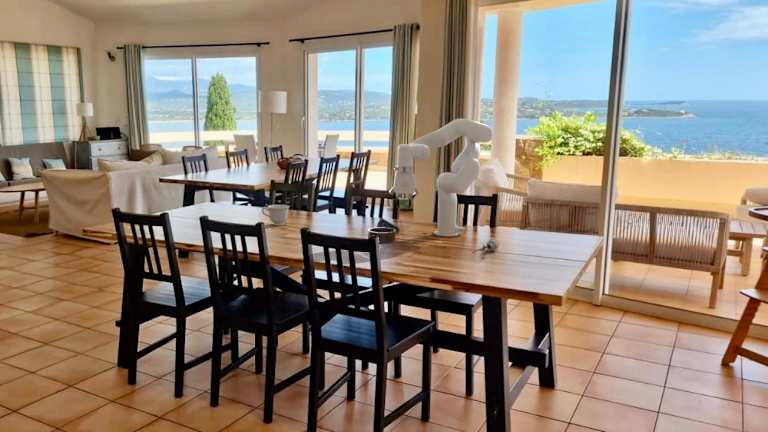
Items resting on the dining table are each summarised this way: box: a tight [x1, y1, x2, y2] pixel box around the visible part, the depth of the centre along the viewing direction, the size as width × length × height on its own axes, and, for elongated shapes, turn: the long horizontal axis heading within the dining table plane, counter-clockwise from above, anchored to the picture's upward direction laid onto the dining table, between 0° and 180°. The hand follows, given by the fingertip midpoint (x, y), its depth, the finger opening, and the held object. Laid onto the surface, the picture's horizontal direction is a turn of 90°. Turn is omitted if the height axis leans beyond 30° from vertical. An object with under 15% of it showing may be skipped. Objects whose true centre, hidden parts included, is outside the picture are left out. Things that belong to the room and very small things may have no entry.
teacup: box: [261, 204, 290, 226], centre depth 314 cm, size 12×15×10 cm
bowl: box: [367, 227, 397, 244], centre depth 279 cm, size 13×13×5 cm
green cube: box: [398, 197, 410, 210], centre depth 280 cm, size 4×4×4 cm
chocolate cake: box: [376, 217, 401, 234], centre depth 300 cm, size 10×7×12 cm
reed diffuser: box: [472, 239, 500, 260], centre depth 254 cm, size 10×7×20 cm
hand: (403, 207), depth 280 cm, fingers closed on green cube, 4 cm apart
